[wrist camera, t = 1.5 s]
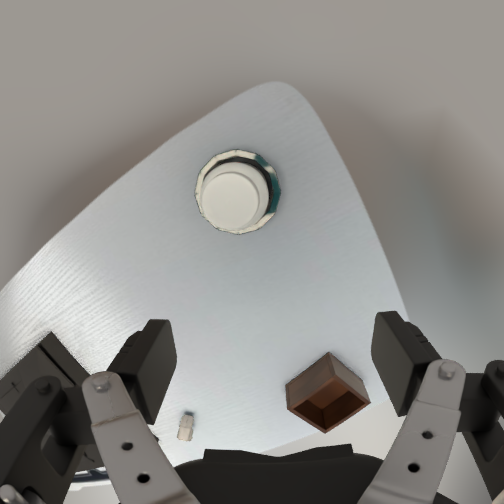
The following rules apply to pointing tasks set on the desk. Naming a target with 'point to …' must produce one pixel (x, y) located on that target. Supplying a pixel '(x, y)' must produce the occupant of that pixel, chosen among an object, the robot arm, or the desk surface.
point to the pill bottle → (234, 196)
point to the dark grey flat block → (44, 364)
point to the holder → (326, 394)
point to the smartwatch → (185, 428)
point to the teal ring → (253, 156)
